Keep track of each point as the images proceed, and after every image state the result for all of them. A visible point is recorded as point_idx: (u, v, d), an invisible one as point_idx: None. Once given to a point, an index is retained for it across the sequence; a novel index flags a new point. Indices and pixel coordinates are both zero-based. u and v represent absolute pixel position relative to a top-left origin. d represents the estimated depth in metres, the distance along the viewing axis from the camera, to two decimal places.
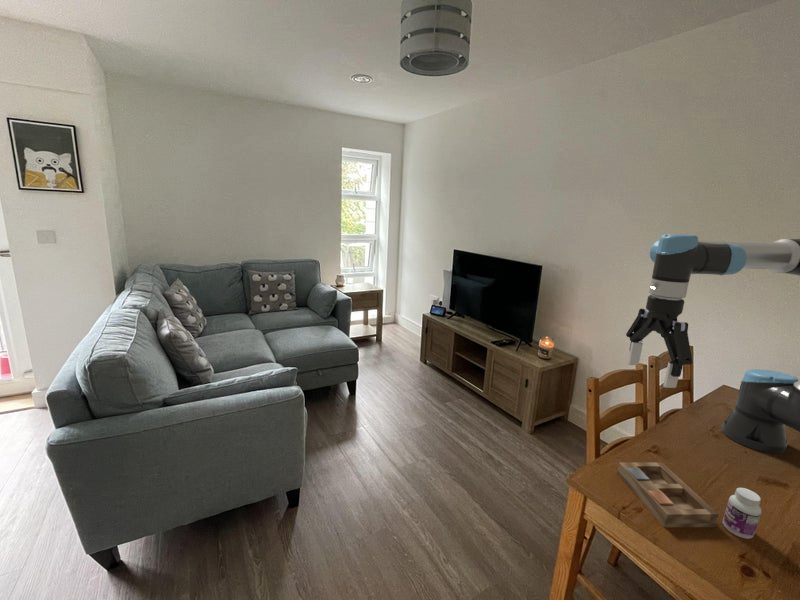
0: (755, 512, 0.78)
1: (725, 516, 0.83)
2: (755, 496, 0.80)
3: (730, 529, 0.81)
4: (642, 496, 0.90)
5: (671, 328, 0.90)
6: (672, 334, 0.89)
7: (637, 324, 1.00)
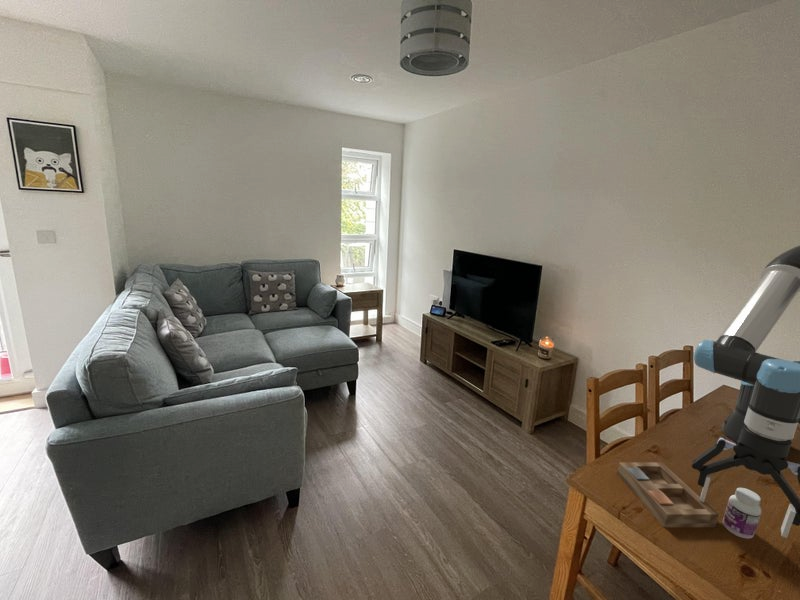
0: (755, 512, 0.78)
1: (725, 516, 0.83)
2: (755, 496, 0.80)
3: (730, 528, 0.81)
4: (642, 496, 0.90)
5: None
6: (781, 475, 0.77)
7: (713, 456, 0.83)
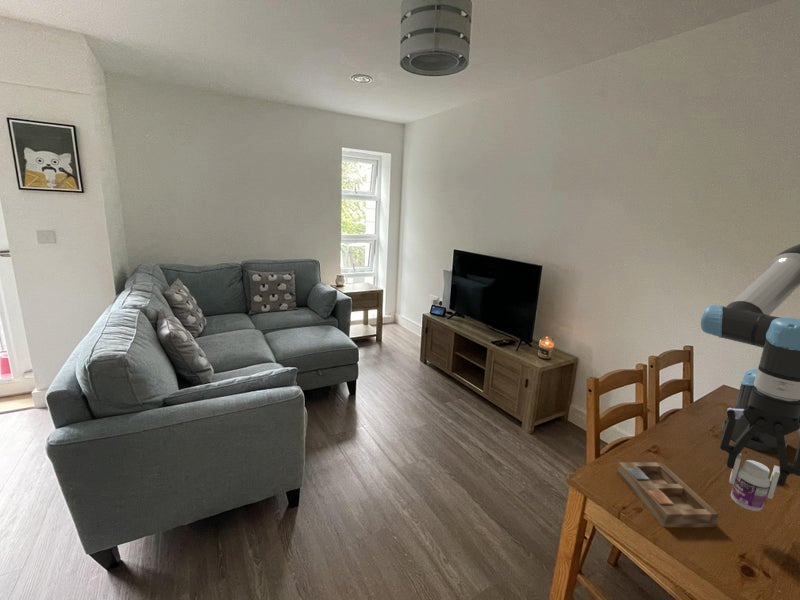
0: (764, 483, 0.77)
1: (733, 489, 0.82)
2: (764, 468, 0.78)
3: (739, 501, 0.80)
4: (642, 496, 0.90)
5: None
6: None
7: (733, 430, 0.80)
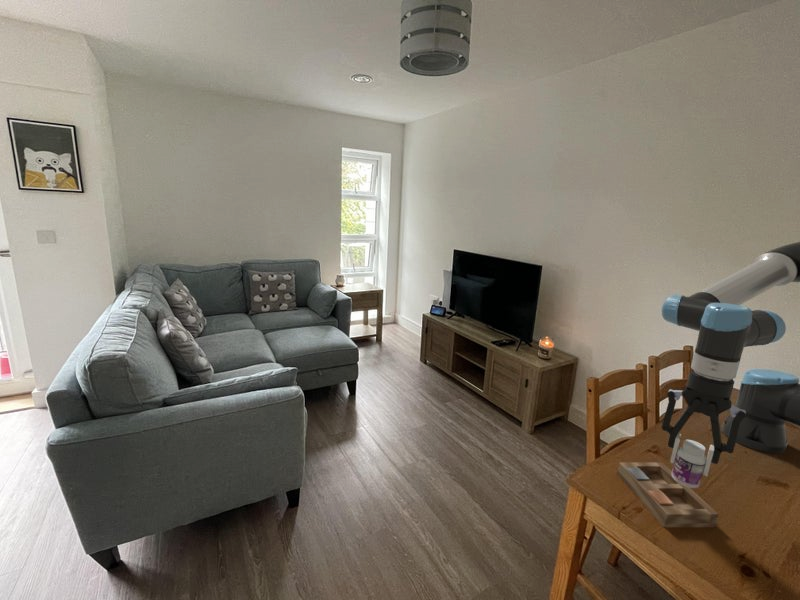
0: (700, 461, 0.81)
1: (673, 468, 0.85)
2: (701, 446, 0.82)
3: (677, 479, 0.84)
4: (642, 496, 0.90)
5: None
6: (718, 417, 0.80)
7: (672, 411, 0.84)
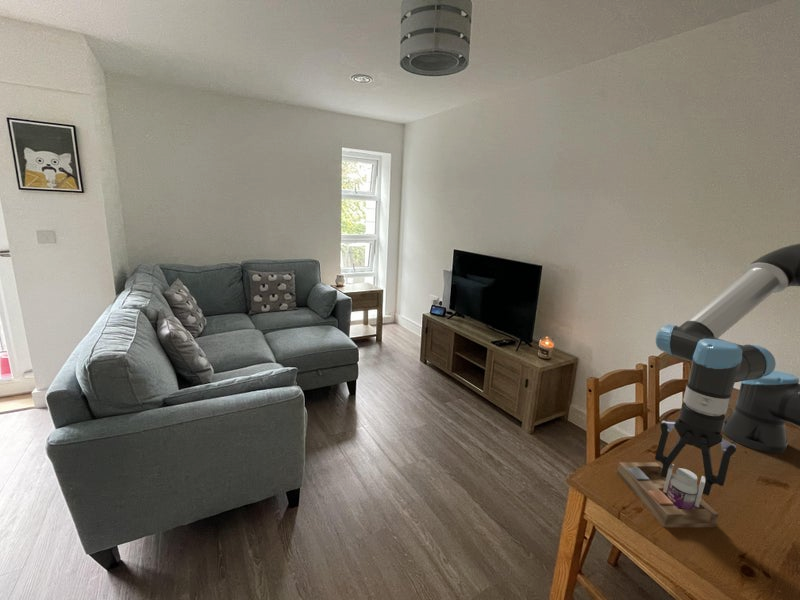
0: (692, 490, 0.83)
1: (666, 495, 0.87)
2: (693, 475, 0.84)
3: None
4: (642, 496, 0.90)
5: None
6: (709, 450, 0.82)
7: (665, 442, 0.86)
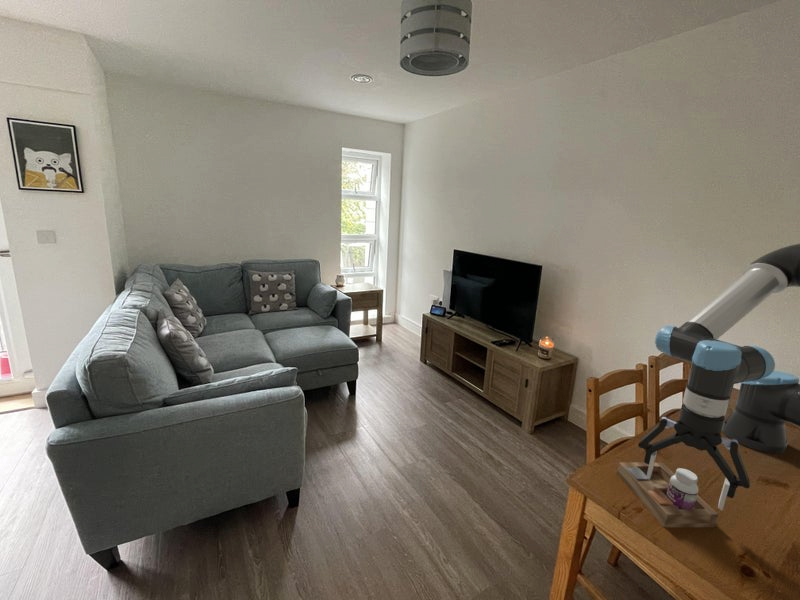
0: (692, 490, 0.83)
1: (666, 495, 0.87)
2: (693, 475, 0.84)
3: None
4: (642, 496, 0.90)
5: None
6: (717, 450, 0.81)
7: None
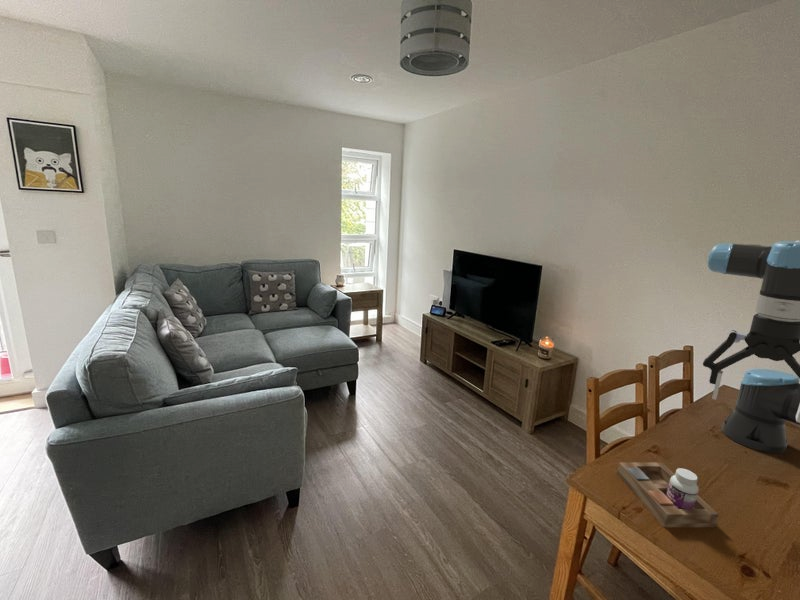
0: (692, 490, 0.83)
1: (666, 495, 0.87)
2: (693, 475, 0.84)
3: None
4: (642, 496, 0.90)
5: None
6: (794, 359, 0.75)
7: (724, 351, 0.82)
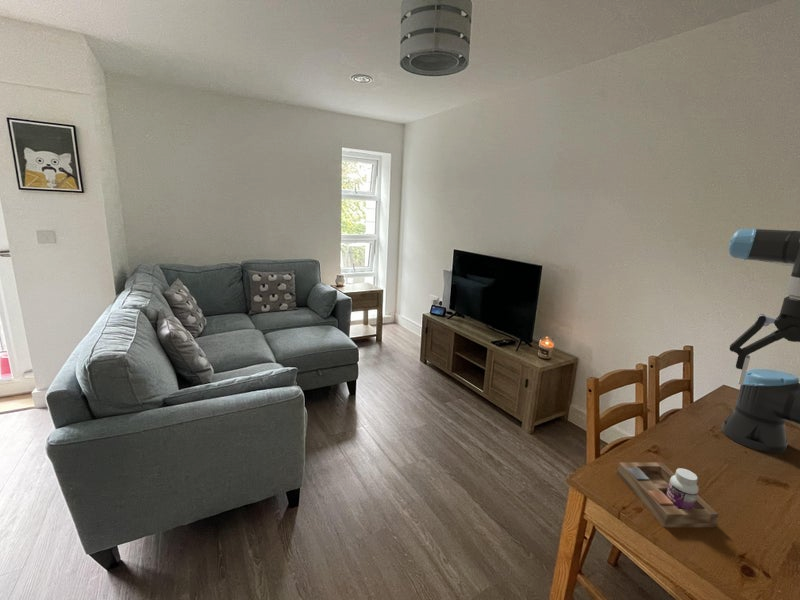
0: (692, 490, 0.83)
1: (666, 495, 0.87)
2: (693, 475, 0.84)
3: None
4: (642, 496, 0.90)
5: None
6: None
7: None
